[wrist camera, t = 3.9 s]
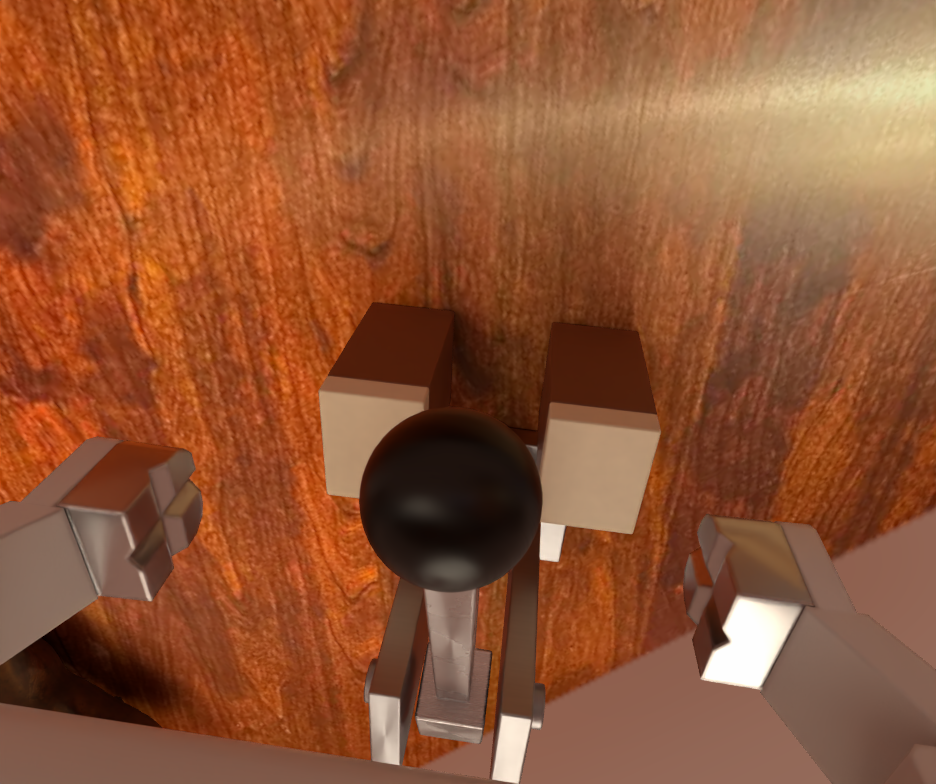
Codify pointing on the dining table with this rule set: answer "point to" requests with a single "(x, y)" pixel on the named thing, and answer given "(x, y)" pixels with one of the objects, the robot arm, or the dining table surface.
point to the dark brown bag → (60, 688)
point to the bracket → (517, 691)
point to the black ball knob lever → (451, 542)
